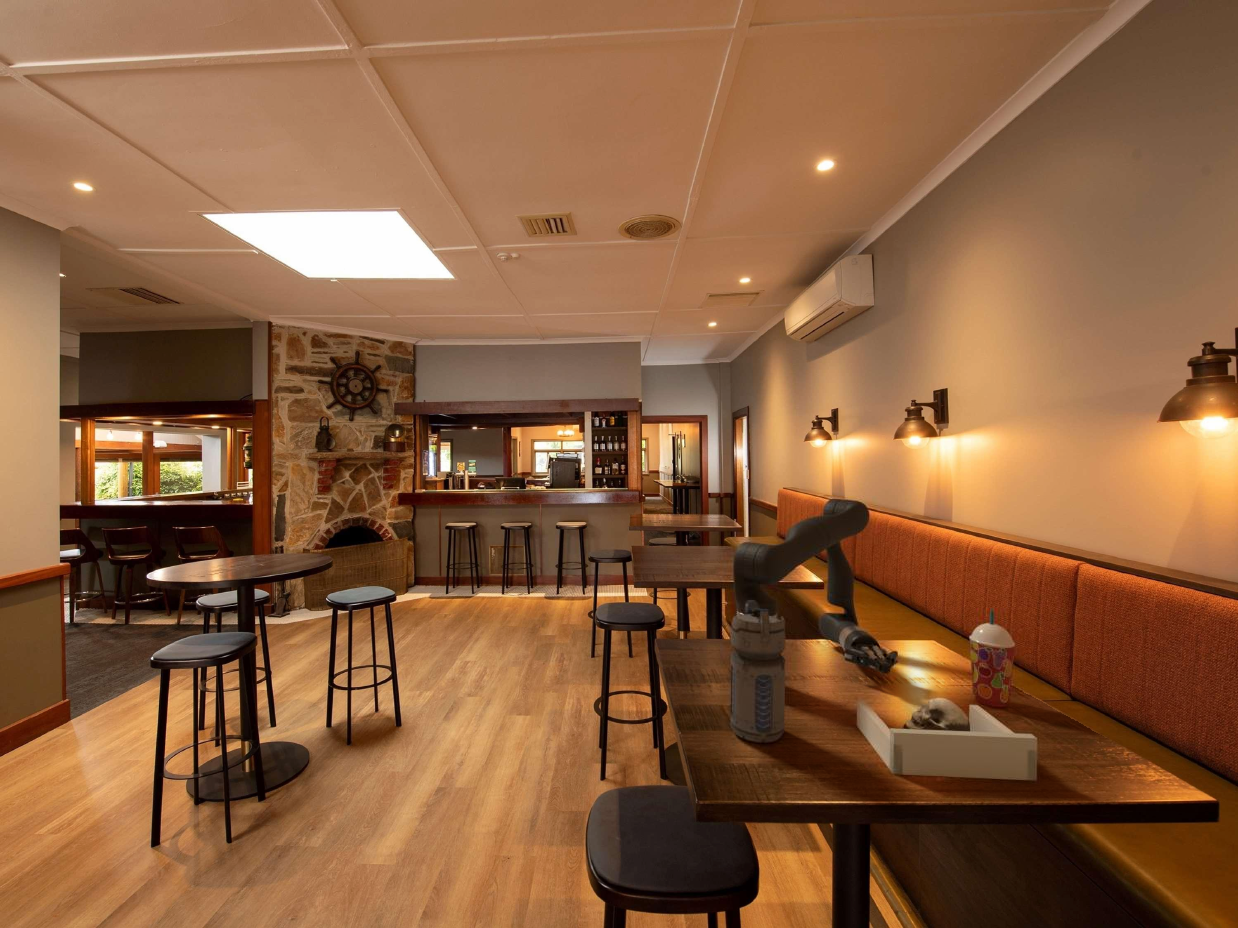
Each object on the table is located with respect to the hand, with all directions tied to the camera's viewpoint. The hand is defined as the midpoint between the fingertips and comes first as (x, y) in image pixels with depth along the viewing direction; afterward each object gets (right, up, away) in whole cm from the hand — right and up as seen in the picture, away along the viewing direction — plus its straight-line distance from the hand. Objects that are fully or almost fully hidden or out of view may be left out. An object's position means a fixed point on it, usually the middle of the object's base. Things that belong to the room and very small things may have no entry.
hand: (885, 669), depth 127 cm
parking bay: (-2, -6, -23) cm, 24 cm away
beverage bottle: (-33, -6, -17) cm, 38 cm away
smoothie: (+22, -6, -3) cm, 23 cm away
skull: (+1, -6, -19) cm, 20 cm away
